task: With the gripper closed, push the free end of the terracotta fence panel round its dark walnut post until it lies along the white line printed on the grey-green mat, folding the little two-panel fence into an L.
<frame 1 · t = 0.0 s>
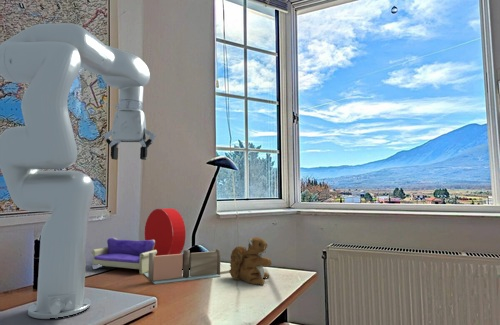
hand: (128, 159, 115), 37 cm above the table, tool pointing down, fingers open, 9 cm apart
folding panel: (165, 265, 107), point 4 cm above the table, hinge at 0.0°
stuffed squirrel: (248, 280, 110), on the table
red thick disc: (163, 259, 139), on the table
fixed panel: (185, 278, 110), resting on layout mat
layout mat: (181, 275, 114), on the table
toy sofa: (123, 270, 121), on the table
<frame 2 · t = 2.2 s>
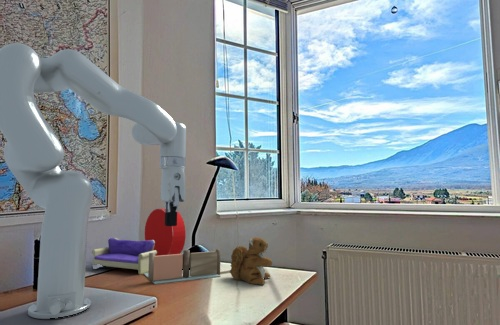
hand: (170, 225, 104), 17 cm above the table, tool pointing down, fingers closed
nothing on the table moved.
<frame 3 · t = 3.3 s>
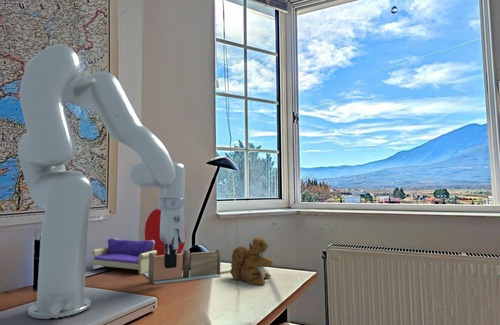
hand: (170, 267, 103), 5 cm above the table, tool pointing down, fingers closed
nothing on the table moved.
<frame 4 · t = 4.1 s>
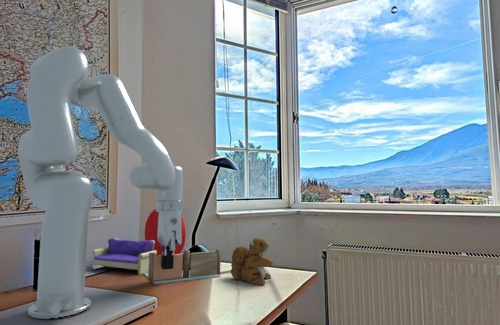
hand: (167, 268, 104), 4 cm above the table, tool pointing down, fingers closed
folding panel: (165, 265, 107), point 5 cm above the table, hinge at 0.3°, touching gripper
everything else where it was.
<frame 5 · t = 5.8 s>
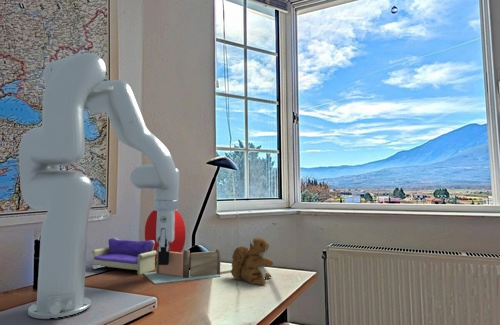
hand: (163, 264, 111), 4 cm above the table, tool pointing down, fingers closed
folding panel: (169, 261, 113), point 5 cm above the table, hinge at 56.4°, touching gripper
everything else where it was.
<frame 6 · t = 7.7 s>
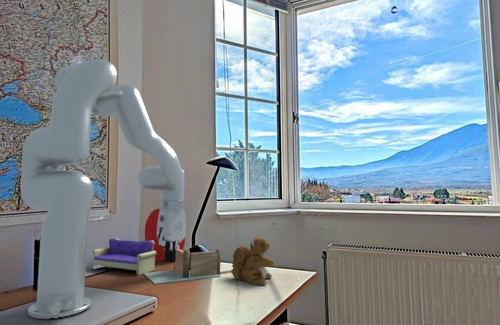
hand: (170, 262, 114), 4 cm above the table, tool pointing down, fingers closed
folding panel: (180, 259, 116), point 5 cm above the table, hinge at 91.9°
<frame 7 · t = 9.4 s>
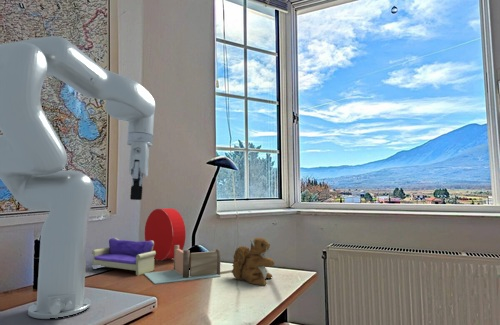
hand: (136, 199, 107), 24 cm above the table, tool pointing down, fingers closed
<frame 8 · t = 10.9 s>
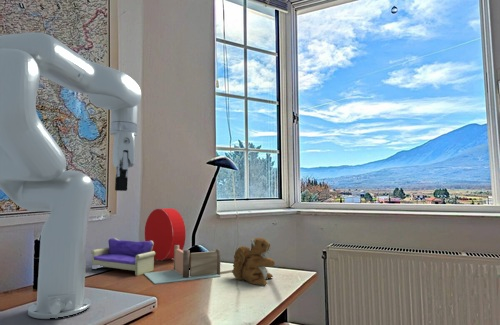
hand: (121, 190, 105), 27 cm above the table, tool pointing down, fingers closed
at the end: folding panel at +92° (first picture: +0°) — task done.
